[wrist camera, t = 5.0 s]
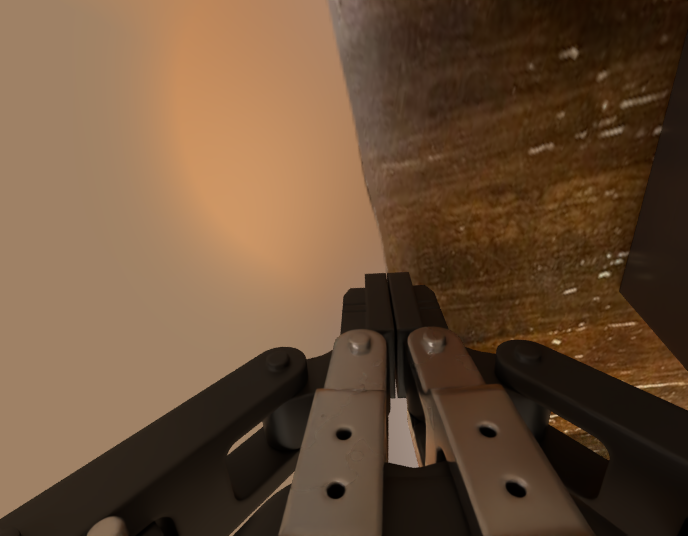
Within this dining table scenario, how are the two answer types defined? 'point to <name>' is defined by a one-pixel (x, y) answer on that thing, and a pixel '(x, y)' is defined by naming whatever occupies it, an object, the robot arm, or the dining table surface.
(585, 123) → the dining table surface
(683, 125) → the oven door
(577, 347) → the dining table surface
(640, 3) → the dining table surface
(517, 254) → the dining table surface
